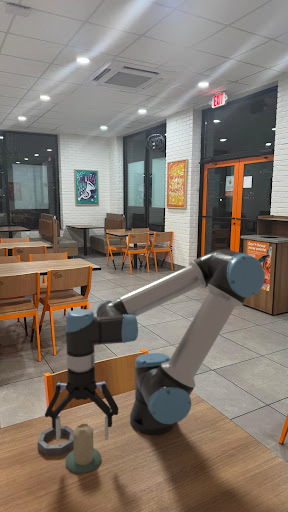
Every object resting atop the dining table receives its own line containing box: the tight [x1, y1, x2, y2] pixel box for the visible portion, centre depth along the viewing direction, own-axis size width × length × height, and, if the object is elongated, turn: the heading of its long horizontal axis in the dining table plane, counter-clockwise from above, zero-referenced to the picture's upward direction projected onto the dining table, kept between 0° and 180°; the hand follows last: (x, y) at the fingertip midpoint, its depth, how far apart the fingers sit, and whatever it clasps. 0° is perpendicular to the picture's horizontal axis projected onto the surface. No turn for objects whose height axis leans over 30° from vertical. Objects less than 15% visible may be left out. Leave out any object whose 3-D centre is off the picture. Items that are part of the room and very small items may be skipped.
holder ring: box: [37, 425, 75, 456], centre depth 109 cm, size 11×11×2 cm
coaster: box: [65, 447, 102, 475], centre depth 102 cm, size 10×10×1 cm
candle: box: [73, 423, 94, 465], centre depth 101 cm, size 6×6×10 cm
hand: (82, 437), depth 101 cm, fingers open, 13 cm apart
